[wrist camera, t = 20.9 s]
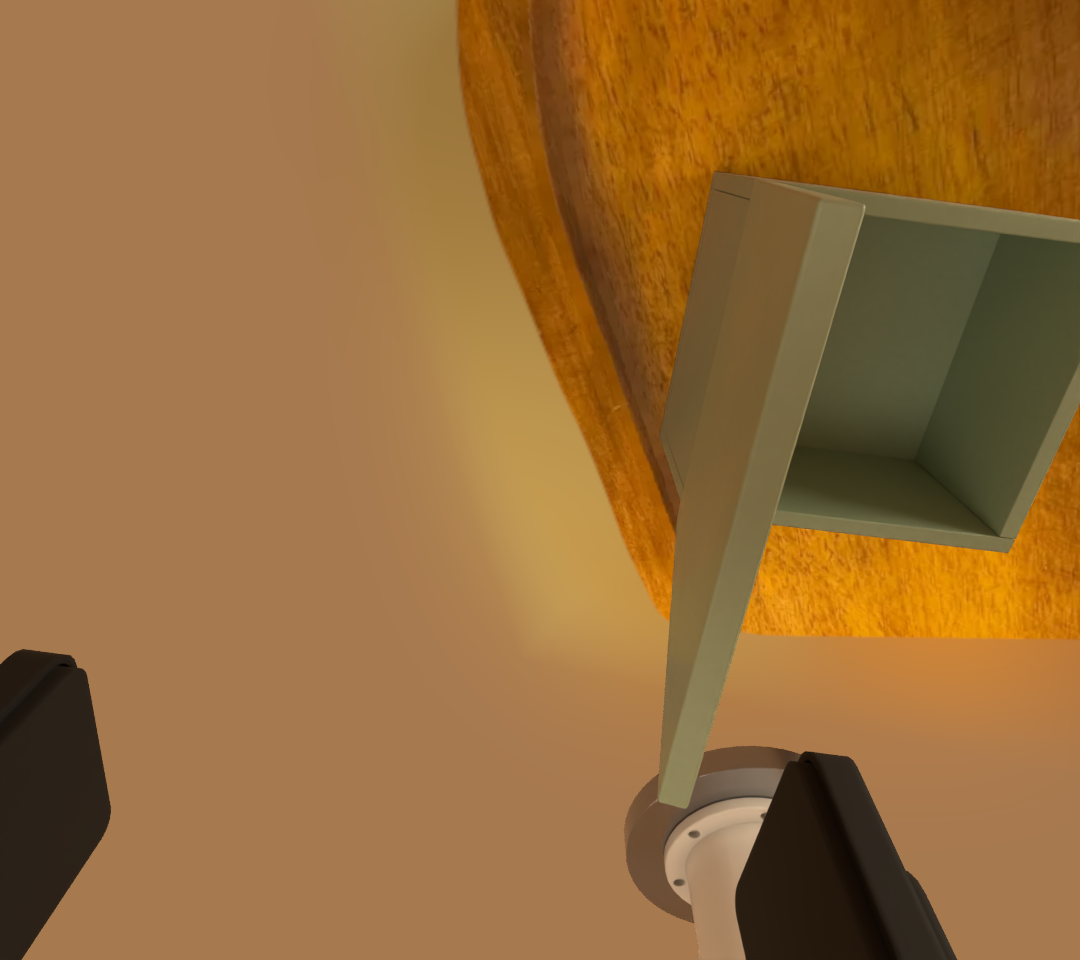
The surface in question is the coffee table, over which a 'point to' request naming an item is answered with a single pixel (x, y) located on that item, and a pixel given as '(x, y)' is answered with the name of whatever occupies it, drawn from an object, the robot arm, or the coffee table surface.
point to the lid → (746, 447)
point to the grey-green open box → (912, 368)
